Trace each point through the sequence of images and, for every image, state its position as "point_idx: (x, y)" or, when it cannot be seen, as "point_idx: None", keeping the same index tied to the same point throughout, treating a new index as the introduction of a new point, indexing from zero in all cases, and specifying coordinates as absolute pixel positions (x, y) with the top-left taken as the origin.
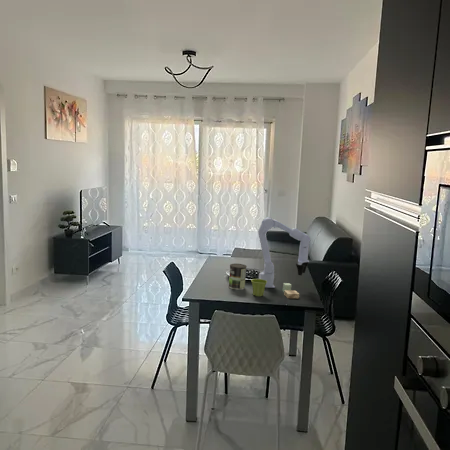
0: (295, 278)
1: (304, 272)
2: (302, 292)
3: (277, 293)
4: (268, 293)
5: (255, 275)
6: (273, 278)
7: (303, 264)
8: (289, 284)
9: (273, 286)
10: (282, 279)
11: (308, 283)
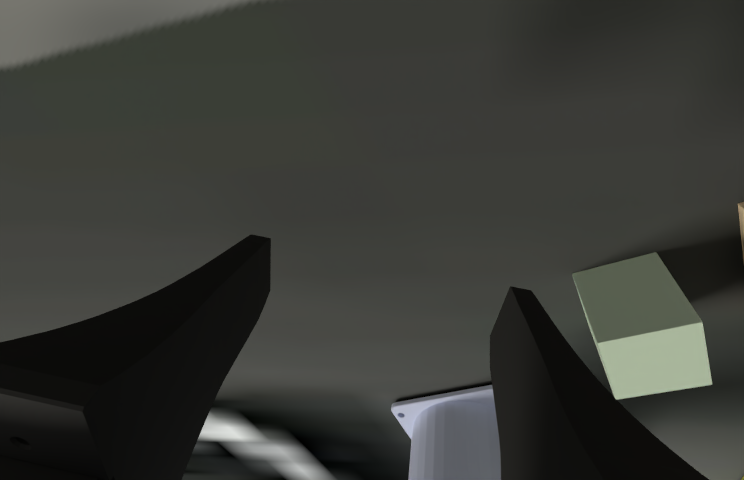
0: (14, 227)
1: (265, 245)
2: (594, 116)
3: (709, 363)
4: (723, 422)
5: (208, 476)
6: (482, 478)
7: (169, 427)
8: (669, 343)
9: (488, 399)
10: None
11: (82, 66)
